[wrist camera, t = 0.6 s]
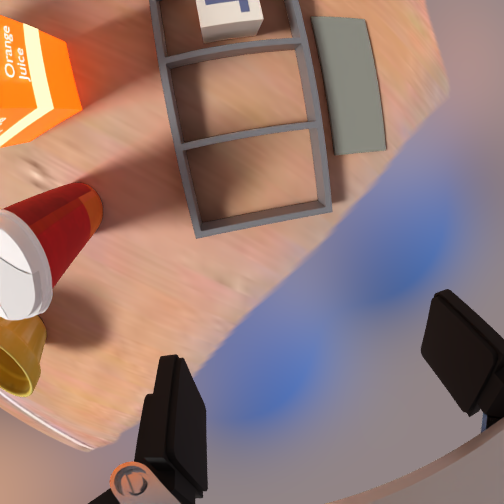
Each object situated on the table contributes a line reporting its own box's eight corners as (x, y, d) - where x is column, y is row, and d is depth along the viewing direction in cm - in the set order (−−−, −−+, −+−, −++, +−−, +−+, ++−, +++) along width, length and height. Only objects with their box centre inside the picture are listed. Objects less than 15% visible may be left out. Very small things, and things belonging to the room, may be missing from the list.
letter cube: (196, 3, 20) (192, -19, 16) (247, -5, 20) (252, -27, 16) (203, 43, 22) (200, 27, 18) (255, 36, 22) (263, 18, 18)
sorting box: (152, -2, 19) (147, -12, 17) (284, -21, 20) (289, -31, 17) (197, 229, 30) (196, 238, 27) (323, 205, 30) (332, 212, 28)
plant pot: (65, 358, 35) (42, 407, 26) (13, 344, 33) (-13, 385, 24) (50, 300, 31) (16, 348, 22) (-4, 288, 29) (-40, 327, 20)
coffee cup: (37, 211, 26) (-48, 272, 13) (75, 155, 25) (-22, 188, 11) (86, 260, 30) (23, 347, 16) (129, 209, 28) (64, 282, 14)
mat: (310, 17, 22) (311, 16, 21) (362, 20, 22) (364, 19, 22) (334, 155, 28) (335, 155, 28) (383, 149, 28) (385, 150, 28)
